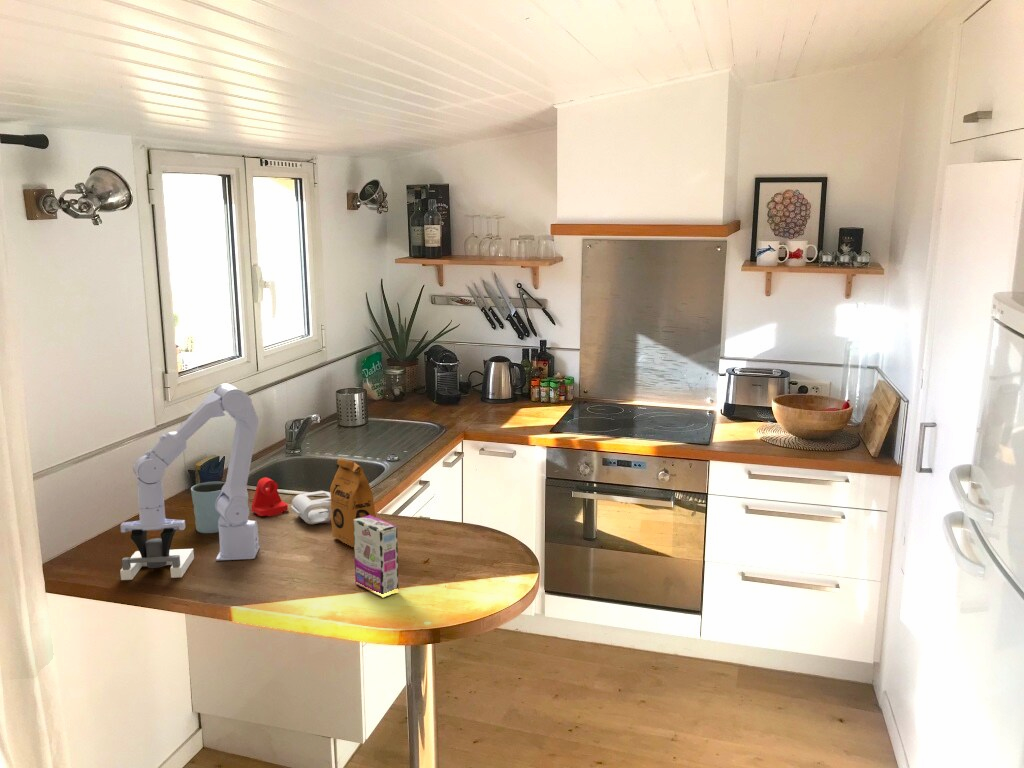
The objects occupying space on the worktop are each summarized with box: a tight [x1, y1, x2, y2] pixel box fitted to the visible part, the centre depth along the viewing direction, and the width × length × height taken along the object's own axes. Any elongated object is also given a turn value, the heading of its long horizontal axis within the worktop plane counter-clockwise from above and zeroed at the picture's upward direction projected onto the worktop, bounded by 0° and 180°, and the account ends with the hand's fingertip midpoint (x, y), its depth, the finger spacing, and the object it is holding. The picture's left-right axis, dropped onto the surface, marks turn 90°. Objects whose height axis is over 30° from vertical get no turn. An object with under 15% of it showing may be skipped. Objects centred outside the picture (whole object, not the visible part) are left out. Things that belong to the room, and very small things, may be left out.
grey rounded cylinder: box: [145, 537, 167, 569], centre depth 208 cm, size 4×4×6 cm
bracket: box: [251, 477, 289, 518], centre depth 249 cm, size 9×6×10 cm
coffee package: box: [329, 458, 377, 548], centre depth 226 cm, size 10×12×22 cm
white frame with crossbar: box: [119, 548, 195, 581], centre depth 209 cm, size 14×12×5 cm
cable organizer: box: [290, 490, 331, 525], centre depth 243 cm, size 7×12×12 cm
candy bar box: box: [353, 515, 399, 594], centre depth 197 cm, size 11×5×16 cm, turn 45°
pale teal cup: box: [190, 481, 226, 534], centre depth 237 cm, size 10×10×12 cm
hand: (155, 558), depth 208 cm, fingers closed on grey rounded cylinder, 4 cm apart
